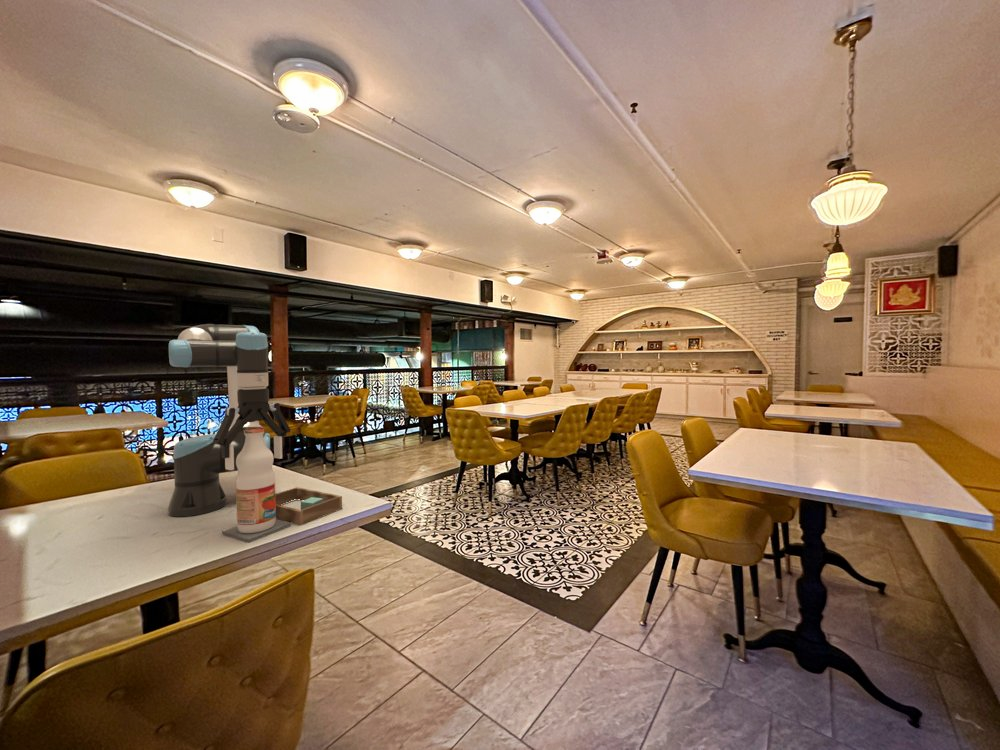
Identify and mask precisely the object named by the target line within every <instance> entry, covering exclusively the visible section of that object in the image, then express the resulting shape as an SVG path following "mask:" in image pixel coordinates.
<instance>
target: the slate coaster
mask: <svg viewBox="0 0 1000 750" xmlns="http://www.w3.org/2000/svg"><path fill="white" fill-rule="evenodd" d="M291 526H292V523H289V522H286V521H282V520H278V519H276V523H275V525H274V526H273V527H271V528H269V529H267V530H264V531H261V532H256V533H241V532H239V531H238V529H237V525H236V526H234V527H231V528H228V529H225V530H222V535H224V536H228V537H229V538H233V539H235V540H236V539H237V540H239V541H243V542H245V543H252V542H254V541H257V540H259V539H262V538H265V537H267V536H270V535H272V534H274V533H277V532H279V531H282V530H285V529H287V528H289V527H291Z"/></svg>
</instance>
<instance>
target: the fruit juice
mask: <svg viewBox="0 0 1000 750" xmlns="http://www.w3.org/2000/svg"><path fill="white" fill-rule="evenodd" d="M264 432H265V427H263V426H262V427H252V428H246V429H244V435H245V443H244V447H243V449H242V451H241V452H240V453H239V454H238V456H237V458H236V467H237V469H238V471H237V476H236V477H235V493H236V494H235V500H236V502H235V503H236V526H237V529H238V531H239V532H241V533H256V532H261V531H264V530H267V529H269V528H271V527H273V526H274V525H275V523H276V499H275V494H276V475H275V471H274V470H273V464H274V459H275V458H274V453H273V452H272V450H271V449H268V447H267V446H266V444H265V441H264V438H263V434H264Z"/></svg>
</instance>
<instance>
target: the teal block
mask: <svg viewBox="0 0 1000 750" xmlns="http://www.w3.org/2000/svg"><path fill="white" fill-rule="evenodd" d="M321 502H323V498H315V497H311V498H309V499H306V500H304V501H300V510H302V509H305V508H307V507H310V506H313V505H316V504H318V503H321Z"/></svg>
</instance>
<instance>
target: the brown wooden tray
mask: <svg viewBox="0 0 1000 750" xmlns="http://www.w3.org/2000/svg"><path fill="white" fill-rule="evenodd" d="M311 497H315V498H323V502H321V503H318V504H316V505H313V506H310V507H307V508H305V509H302V510H301V509H299V508H295V507H289V506H285V505H284V504H283V503H286V502H289V501H291V500H294V499H300V500H306V499H309V498H311ZM275 499H276V519H277V520H280V521H284V522H288V523H291V524H295V525H298V526H302V525H305V524H307V523H310V522H311V521H315V520H318V519H320V518H322V517H324V516H323V515H325V516H327V515H329V514H328V513H330V514H332V513H335V512H337V511H339V510H338V509H340V510H342V509H343V496H342V495H337V494H333V493H329V492H328V493H327V492H322V491H317V490H313V489H308V488H303V487H297V486H296V487H293V488H291V489H287V490H284V491H280V492H277V493H275ZM289 503H290V502H289ZM281 504H283V505H281ZM286 504H287V503H286ZM341 508H342V509H341ZM336 510H337V511H336ZM334 511H335V512H334ZM331 512H332V513H331ZM326 514H327V515H326ZM319 517H320V518H319Z"/></svg>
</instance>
